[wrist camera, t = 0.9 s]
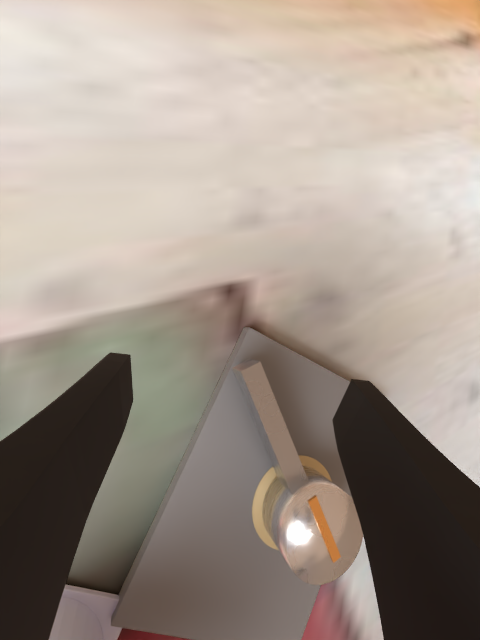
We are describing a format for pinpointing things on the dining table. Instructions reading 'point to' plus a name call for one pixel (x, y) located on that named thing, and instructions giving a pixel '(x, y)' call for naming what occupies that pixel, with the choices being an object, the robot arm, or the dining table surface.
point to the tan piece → (299, 494)
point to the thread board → (234, 512)
